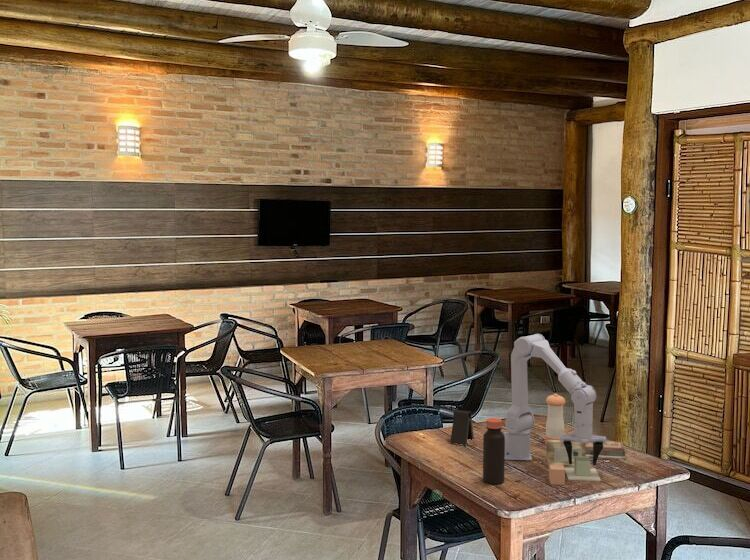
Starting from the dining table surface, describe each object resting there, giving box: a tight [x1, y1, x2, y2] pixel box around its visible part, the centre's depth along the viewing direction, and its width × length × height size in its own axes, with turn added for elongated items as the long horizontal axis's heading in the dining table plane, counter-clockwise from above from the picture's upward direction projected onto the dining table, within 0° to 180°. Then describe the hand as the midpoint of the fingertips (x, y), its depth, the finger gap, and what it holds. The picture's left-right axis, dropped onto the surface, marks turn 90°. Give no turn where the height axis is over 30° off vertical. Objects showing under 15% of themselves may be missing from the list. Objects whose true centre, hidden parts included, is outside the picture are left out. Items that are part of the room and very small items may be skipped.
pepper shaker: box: [544, 393, 566, 446], centre depth 273 cm, size 7×7×19 cm
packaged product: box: [585, 440, 627, 460], centre depth 264 cm, size 18×5×10 cm
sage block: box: [574, 456, 591, 476], centre depth 242 cm, size 4×4×5 cm
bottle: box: [482, 417, 506, 485], centre depth 237 cm, size 7×7×20 cm
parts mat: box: [564, 467, 602, 482], centre depth 243 cm, size 10×10×1 cm
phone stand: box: [449, 408, 475, 446], centre depth 278 cm, size 9×6×12 cm, turn 151°
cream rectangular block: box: [553, 444, 582, 463], centre depth 253 cm, size 9×5×5 cm, turn 83°
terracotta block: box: [548, 464, 566, 486], centre depth 237 cm, size 4×4×5 cm
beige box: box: [545, 440, 586, 468], centre depth 253 cm, size 13×8×7 cm, turn 83°
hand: (582, 463), depth 243 cm, fingers open, 7 cm apart
